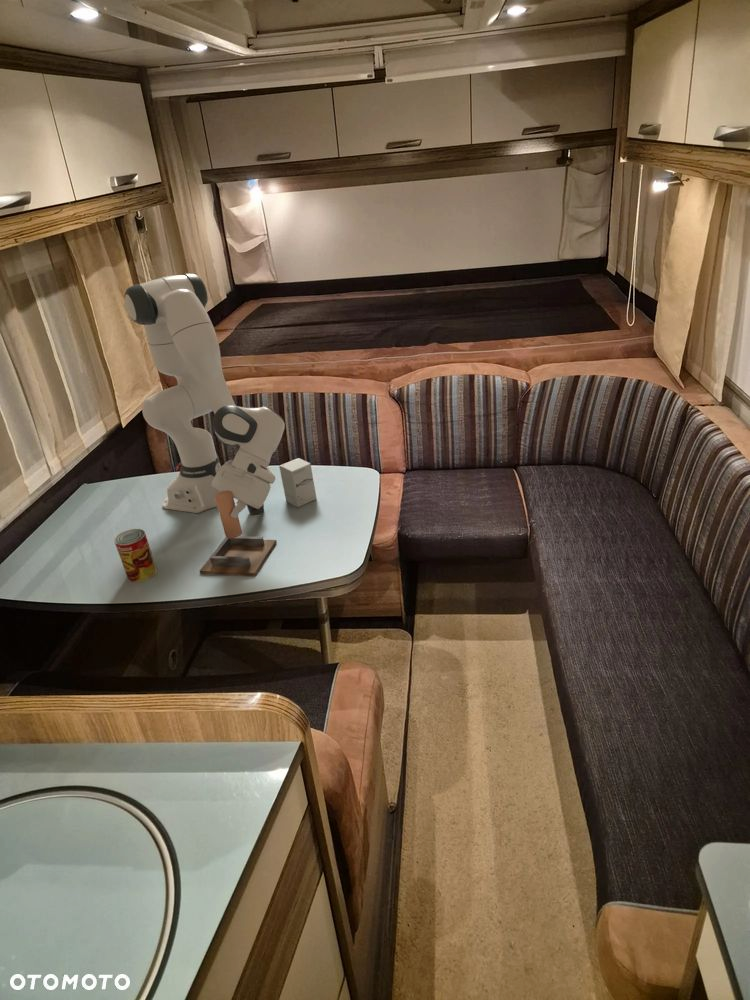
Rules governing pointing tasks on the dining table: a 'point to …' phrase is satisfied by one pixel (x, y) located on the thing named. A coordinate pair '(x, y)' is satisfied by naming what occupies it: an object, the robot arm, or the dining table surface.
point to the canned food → (136, 555)
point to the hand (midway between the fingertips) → (226, 513)
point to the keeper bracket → (239, 556)
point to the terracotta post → (224, 506)
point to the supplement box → (298, 482)
